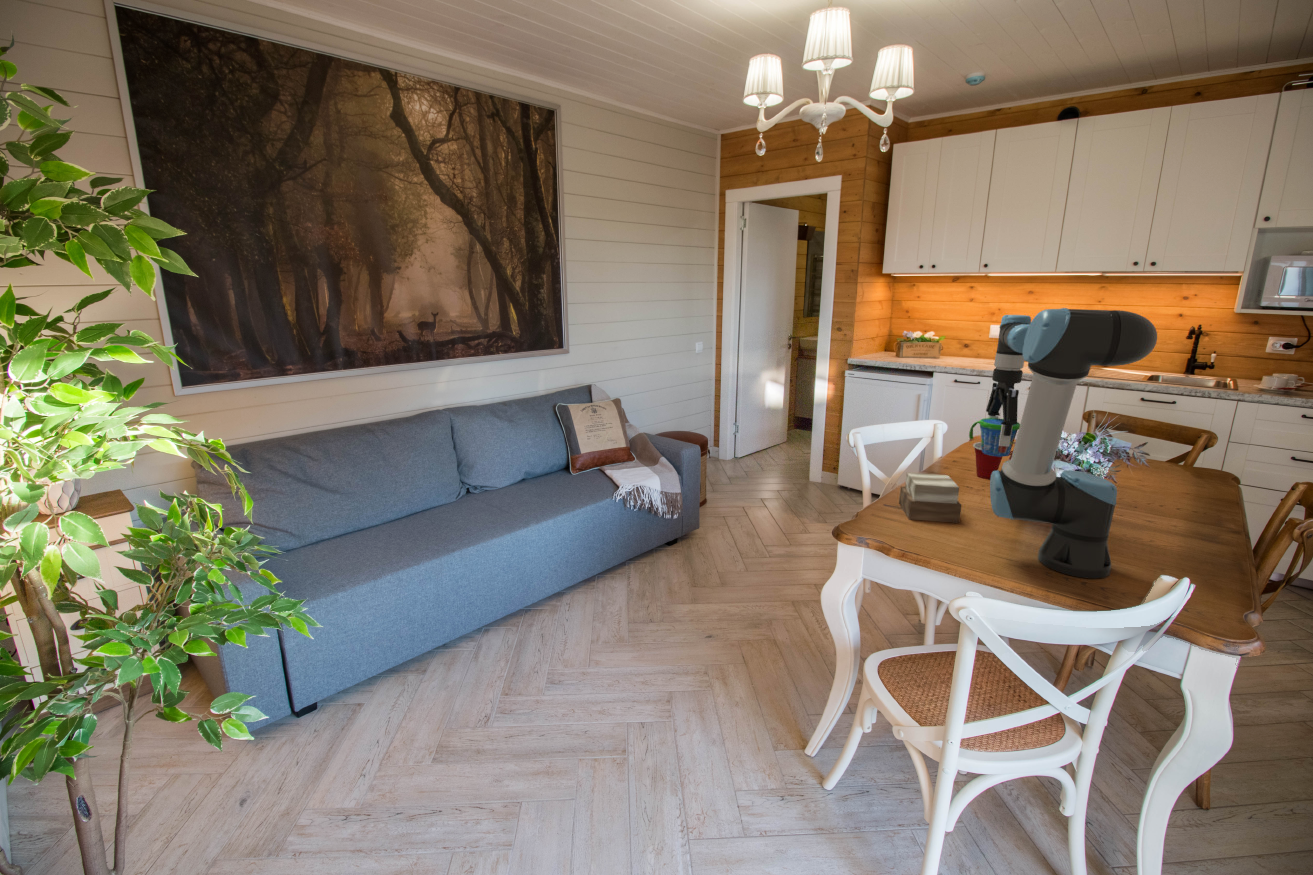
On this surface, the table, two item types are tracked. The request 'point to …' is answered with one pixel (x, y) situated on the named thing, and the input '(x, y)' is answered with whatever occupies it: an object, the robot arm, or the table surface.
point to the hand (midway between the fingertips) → (996, 441)
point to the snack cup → (993, 436)
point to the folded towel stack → (930, 498)
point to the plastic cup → (985, 462)
